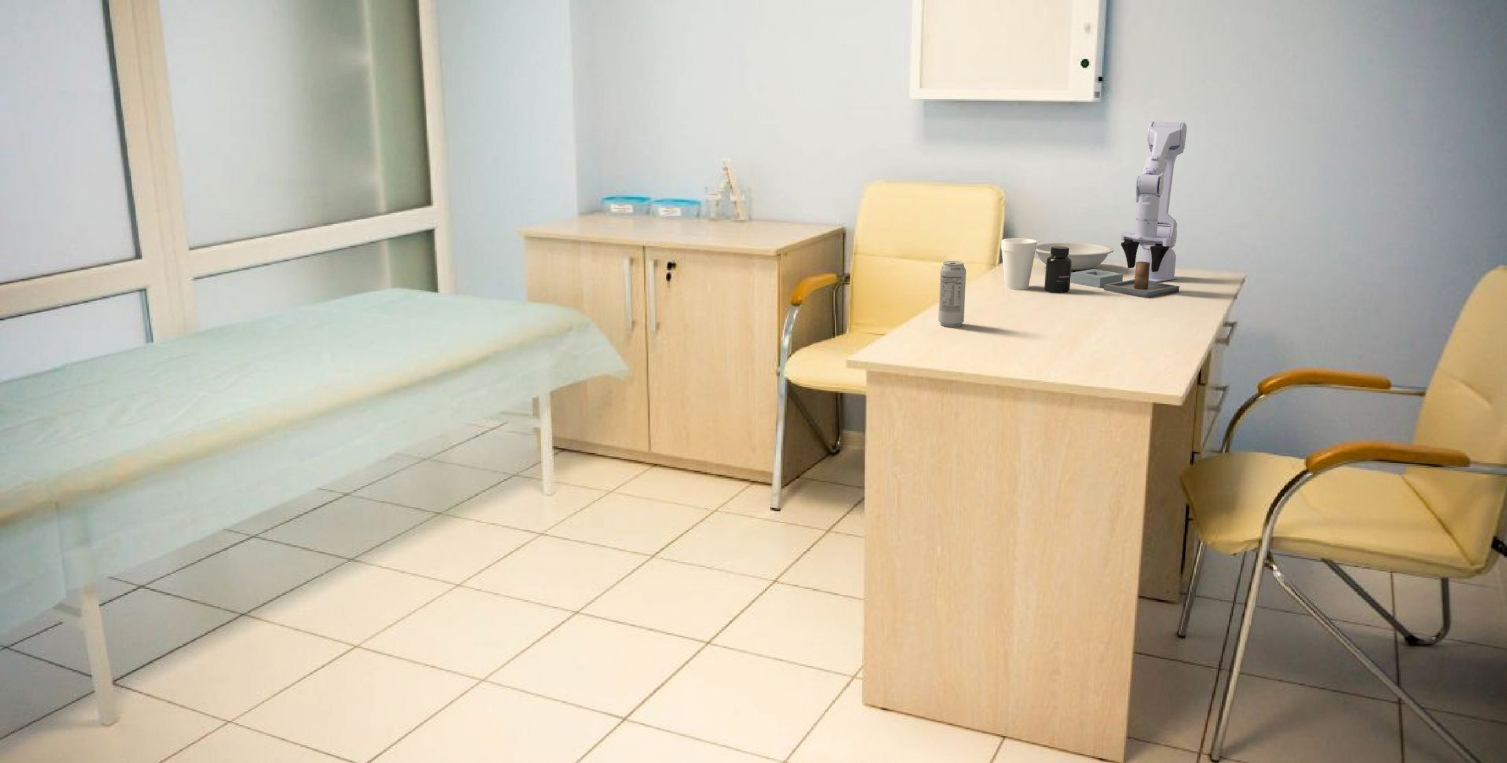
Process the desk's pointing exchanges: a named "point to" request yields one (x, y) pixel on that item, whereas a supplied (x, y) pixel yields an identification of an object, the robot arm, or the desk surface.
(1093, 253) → the soup bowl
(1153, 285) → the tray
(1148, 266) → the dowel
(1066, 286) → the supplement bottle
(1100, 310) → the desk surface
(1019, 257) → the foam cup
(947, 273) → the energy drink can
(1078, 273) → the square hole block
